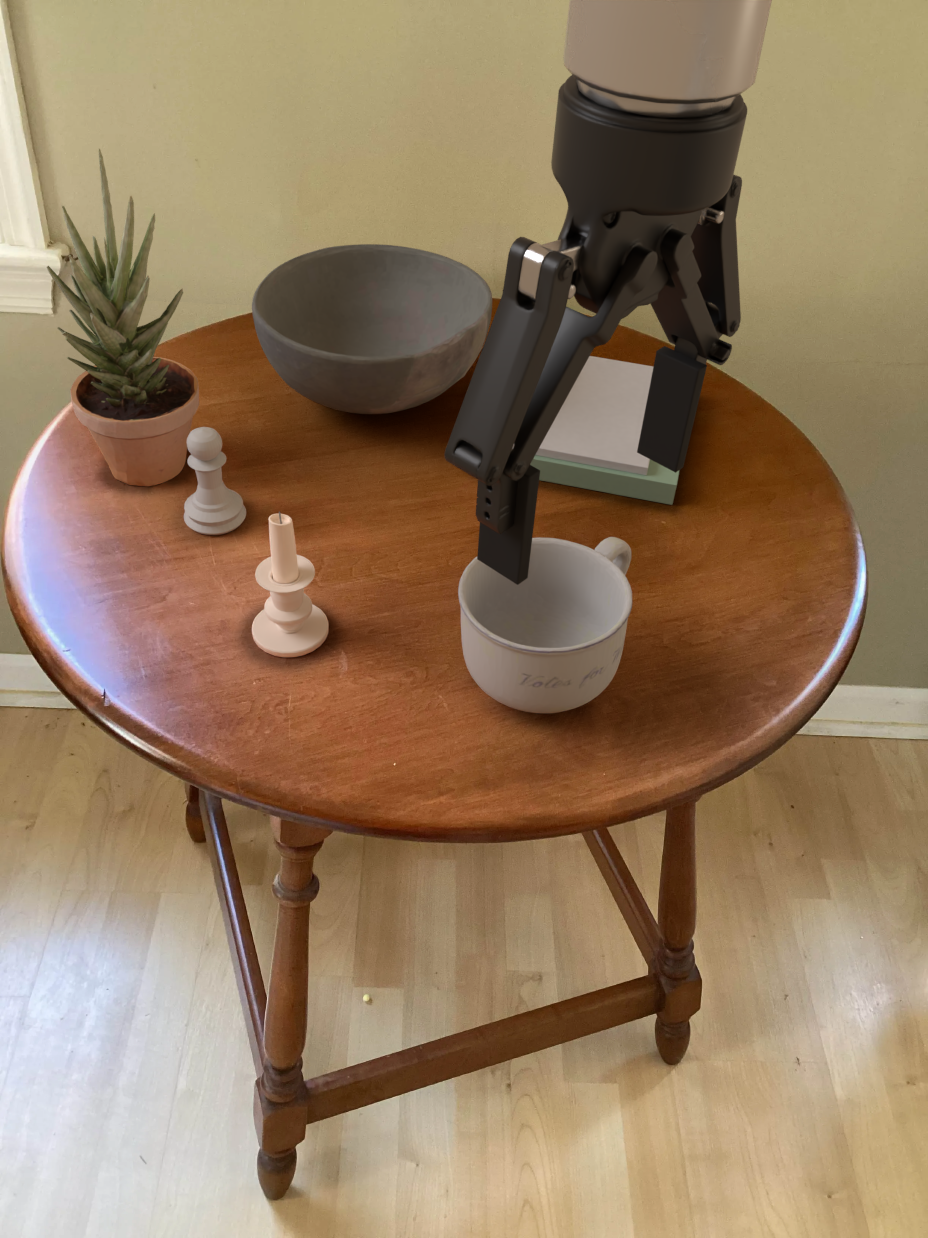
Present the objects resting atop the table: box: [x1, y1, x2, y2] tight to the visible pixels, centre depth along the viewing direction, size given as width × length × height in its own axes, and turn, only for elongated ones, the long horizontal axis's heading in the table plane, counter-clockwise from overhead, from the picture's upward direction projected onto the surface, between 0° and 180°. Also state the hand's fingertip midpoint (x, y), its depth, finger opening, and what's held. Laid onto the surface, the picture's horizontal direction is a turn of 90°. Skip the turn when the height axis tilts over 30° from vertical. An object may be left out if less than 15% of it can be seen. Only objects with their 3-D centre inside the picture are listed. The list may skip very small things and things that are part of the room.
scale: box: [512, 355, 681, 506], centre depth 91 cm, size 16×17×3 cm
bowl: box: [251, 243, 493, 415], centre depth 91 cm, size 20×20×10 cm
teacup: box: [457, 536, 633, 714], centre depth 68 cm, size 14×11×8 cm
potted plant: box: [46, 148, 200, 487], centre depth 77 cm, size 10×10×25 cm
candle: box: [251, 511, 329, 658], centre depth 68 cm, size 5×5×10 cm
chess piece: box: [183, 426, 247, 536], centre depth 78 cm, size 5×5×8 cm
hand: (586, 511), depth 56 cm, fingers open, 13 cm apart
